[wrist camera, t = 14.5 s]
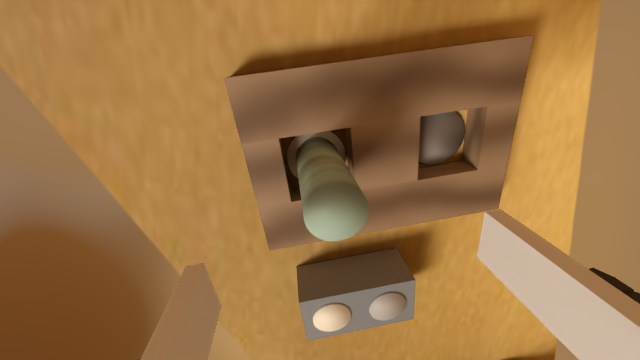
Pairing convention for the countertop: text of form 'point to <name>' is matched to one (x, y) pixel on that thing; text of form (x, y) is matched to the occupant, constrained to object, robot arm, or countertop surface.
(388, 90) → the board
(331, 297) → the block
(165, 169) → the countertop surface
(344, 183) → the pin
